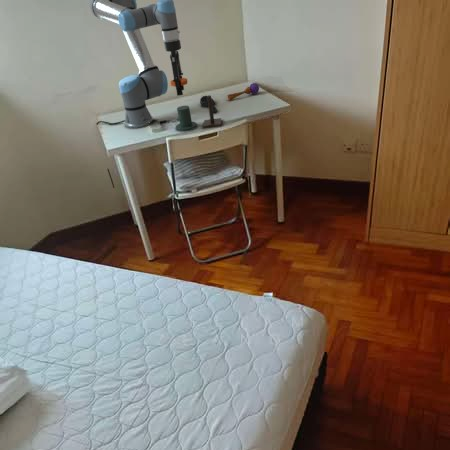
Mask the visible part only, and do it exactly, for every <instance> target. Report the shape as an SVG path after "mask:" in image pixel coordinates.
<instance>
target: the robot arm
mask: <svg viewBox="0 0 450 450" xmlns="http://www.w3.org/2000/svg"><path fill="white" fill-rule="evenodd" d="M137 6H138V5H137V0H89V7H90V10H91V13H92V14H93V16H95V17H96V18H97V19H99V20H102V21H106V20H107V21H110V22H113V23H116V24H118V25H119V27H120V29H121V30H122V32H123V34H124V37H125V39H126V42H127V44H128V47H129V49H130V52H131V54H132V57H133V58H134V61H135V63H136V66H137V68H138V74H131V75H128V76H125V77H123V78H122V79H121V80H119V82H118V88H119V93H120V95H121V99H122V102H123V107H124V110H125V113H124V114H125V115H124V118H125V119H124V120H120V121H117V122H109V121H104V120H99V121H97V122H96V125H99V124H100V123H104V124H108V125H110V126H111V125H118V124H121V123H122V124H123V123H125V127H126V128H128V129H137V128H143V127H147V126H149V125H151V124H152V123H153V122H154V120H153V116H152V114H151V113H150V111H149V109H148V107H147V103H146V101H148V100H152V99H154V98H158V97H161V96H163V95H165V94H166V93H167V92H168V90H169V89H168V88H169V83H168V77H167V74H166V73H165V71H163V70H161V69H160V68H159V66H158V65H156V64H155V63H154V61H153V59H152V57H151V56H152V55H151V54H150V51H149V49H148V47H147V44H146V41H145V39H144V36H143V33H142V31H141V29H143V28H147V27H152V26H156V25H160V28H161V34H162V40H163V41H164V43H163V44H164V50H165V51H166V52H168V53H169V52H170V55H169V60H170V61H171V63H170V64H171V69H172V70H171V71H172V75H173V76H172V77H173V79H172V80H173V82H175V85H176V87H175V91H176V96H177V97H179V96H183V95H184V94H183V93H184V90H185V85H183V86H181V80H180V78H183V75H184V72H183V71H182V66H181V61H180V54H179V50H181V49H182V43H181V40H180V33H181V31H180V30H179V26H178V19H177V11H176V7H175V2H174V0H158V1H157V3H152V4H147V6H142V7H137ZM149 122H150V123H149ZM107 173H108V175H109V179H110V181H111V185H112V188H113V189H115V185H114V182H113V178H112V175H111V172H110V169H109V168H107Z"/></svg>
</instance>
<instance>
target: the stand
mask: <svg viewBox="0 0 450 450" xmlns="http://www.w3.org/2000/svg"><path fill="white" fill-rule="evenodd" d="M176 110H177V117H178V121H179V123H177V124H176V126H175V130H176V131H178V132H189V131H191V130H195V129H196V128H197V127H198V123H197V122H196V121H192V114H191V109H190V106H189V105H180V106H177V108H176Z"/></svg>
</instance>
